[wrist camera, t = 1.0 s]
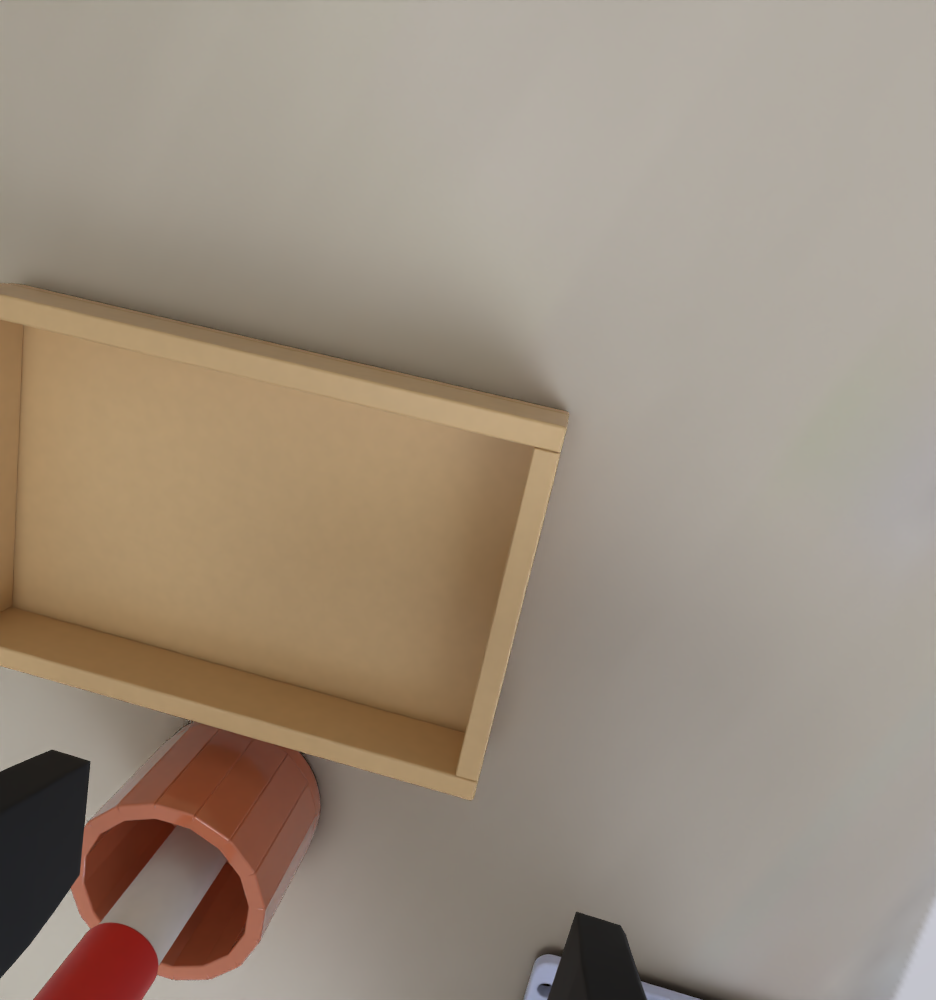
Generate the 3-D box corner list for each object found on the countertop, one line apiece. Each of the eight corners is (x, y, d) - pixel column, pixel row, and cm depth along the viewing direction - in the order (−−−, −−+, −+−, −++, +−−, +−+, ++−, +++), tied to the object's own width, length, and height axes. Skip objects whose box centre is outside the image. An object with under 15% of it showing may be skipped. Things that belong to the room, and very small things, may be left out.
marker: (256, 837, 22) (86, 1109, 15) (198, 819, 23) (0, 1080, 15) (264, 785, 22) (92, 1040, 14) (205, 767, 22) (3, 1009, 14)
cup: (307, 885, 23) (249, 1005, 19) (151, 837, 24) (62, 945, 20) (333, 742, 22) (276, 840, 18) (166, 694, 22) (73, 779, 18)
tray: (485, 746, 21) (472, 802, 19) (6, 612, 22) (-63, 649, 20) (570, 411, 18) (567, 427, 16) (19, 283, 20) (-60, 279, 17)
